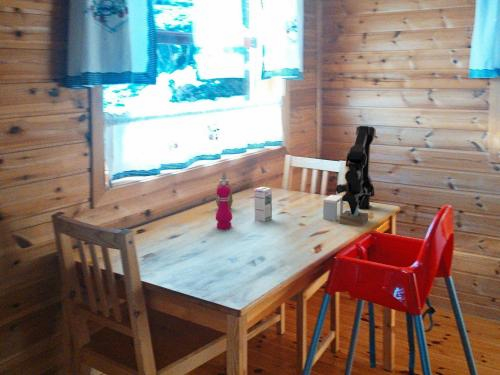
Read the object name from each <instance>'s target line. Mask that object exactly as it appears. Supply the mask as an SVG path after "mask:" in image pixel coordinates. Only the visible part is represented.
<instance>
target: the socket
mask: <svg viewBox="0 0 500 375" xmlns="http://www.w3.org/2000/svg"><path fill="white" fill-rule="evenodd" d="M367 222H369V213H368V212H361V211H358V217H357V216H350V210H345V211H343V214H342V215H340V214H339V224H340V225H346V226H354V227H363V226H364V225H365V224H366V223H367Z"/></svg>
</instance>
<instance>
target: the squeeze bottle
mask: <svg viewBox="0 0 500 375" xmlns="http://www.w3.org/2000/svg"><path fill="white" fill-rule="evenodd" d="M226 174H227V173H226V172H225V171H223V172H222V174H221V179H218V180H219V181H218V184H217V187H216V189H217V188H218V187H219V186H221V183H222V182H225V183H226V184H225V185H226V186H228V187H229V188H230V190H231V193H230V195H229V197H230V198H229V199H230V200H229V202H228V204H229V209H230V210H231V208H232V205H233V203H234V200H233V192H232V185H231V184H230V180H229V179H228V178H227V175H226ZM215 203H216V205H217V208H219V200H218V195H217V194H216V197H215Z"/></svg>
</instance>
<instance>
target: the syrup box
mask: <svg viewBox="0 0 500 375" xmlns="http://www.w3.org/2000/svg"><path fill="white" fill-rule="evenodd" d="M253 190H254V191H253V192H254V193H253V196H254V197H253V199H254V201H253V203H254V204H253V205H254V208H253V209H254V220H255V221H258V222H267V221H269V220H272V218H273V214H272V213H273V212H272V211H273V208H272V205H273V204H272V200H273V199H272V198H273V197H272V190H273V189H272V188H271V187H268V186H261V187H257V188H254V189H253Z"/></svg>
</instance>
